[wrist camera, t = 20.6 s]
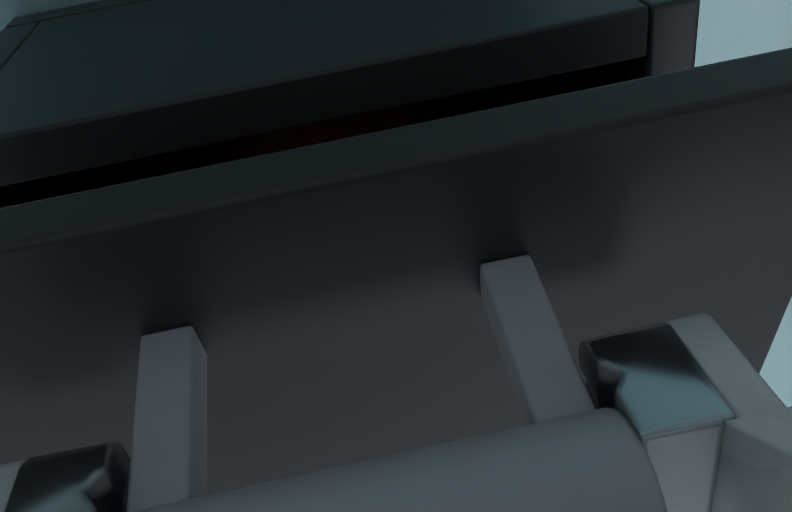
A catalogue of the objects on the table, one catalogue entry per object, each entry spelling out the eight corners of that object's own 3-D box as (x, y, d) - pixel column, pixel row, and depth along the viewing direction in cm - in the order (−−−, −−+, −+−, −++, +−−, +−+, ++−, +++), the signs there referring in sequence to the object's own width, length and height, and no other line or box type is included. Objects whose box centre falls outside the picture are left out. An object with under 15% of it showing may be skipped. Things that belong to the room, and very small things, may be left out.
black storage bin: (12, 17, 18) (-123, 159, 12) (551, -87, 19) (702, -4, 12) (216, 474, 29) (203, 685, 22) (563, 398, 29) (649, 582, 23)
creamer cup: (204, 95, 19) (187, 199, 15) (422, 51, 20) (470, 140, 15) (261, 272, 23) (261, 400, 18) (446, 232, 23) (492, 350, 18)
